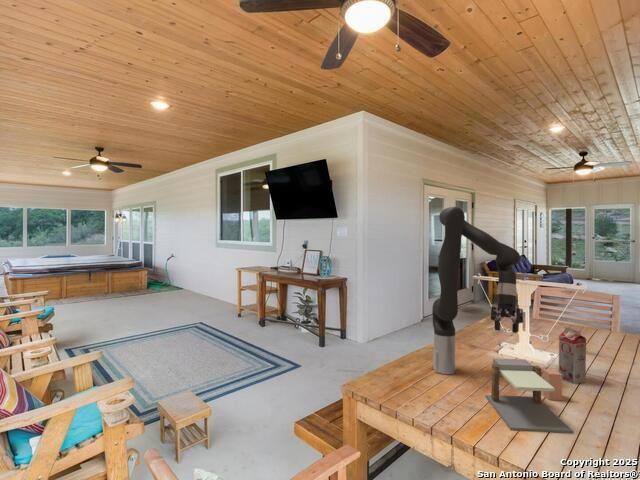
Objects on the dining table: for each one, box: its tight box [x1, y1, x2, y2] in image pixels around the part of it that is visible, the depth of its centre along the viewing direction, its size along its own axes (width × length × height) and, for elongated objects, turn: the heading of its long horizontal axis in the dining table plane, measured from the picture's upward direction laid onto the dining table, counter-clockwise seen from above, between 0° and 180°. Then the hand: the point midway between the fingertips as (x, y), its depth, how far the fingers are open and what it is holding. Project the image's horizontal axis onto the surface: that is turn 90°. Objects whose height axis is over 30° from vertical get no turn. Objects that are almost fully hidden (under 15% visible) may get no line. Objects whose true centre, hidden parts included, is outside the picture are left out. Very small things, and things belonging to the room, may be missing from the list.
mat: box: [484, 394, 574, 434], centre depth 122 cm, size 19×22×1 cm
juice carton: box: [558, 326, 587, 384], centre depth 148 cm, size 7×7×22 cm
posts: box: [490, 363, 543, 404], centre depth 129 cm, size 17×2×14 cm, turn 84°
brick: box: [542, 368, 563, 401], centre depth 133 cm, size 4×4×10 cm
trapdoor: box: [492, 358, 555, 392], centre depth 124 cm, size 20×12×5 cm, turn 174°
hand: (505, 331), depth 150 cm, fingers open, 8 cm apart
